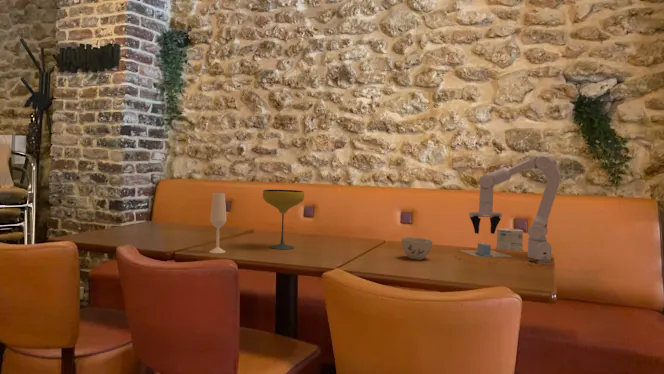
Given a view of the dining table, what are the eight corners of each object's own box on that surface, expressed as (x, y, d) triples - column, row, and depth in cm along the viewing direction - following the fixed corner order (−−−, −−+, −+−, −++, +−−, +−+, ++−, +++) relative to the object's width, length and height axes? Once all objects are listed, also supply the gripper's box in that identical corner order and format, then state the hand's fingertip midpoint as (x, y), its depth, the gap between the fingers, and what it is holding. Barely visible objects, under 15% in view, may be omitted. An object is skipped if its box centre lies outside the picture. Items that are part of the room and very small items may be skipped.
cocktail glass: (256, 245, 241) (257, 189, 240) (293, 243, 248) (295, 189, 247) (268, 251, 224) (270, 191, 223) (308, 250, 232) (310, 192, 231)
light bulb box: (519, 252, 248) (520, 228, 247) (522, 254, 241) (524, 230, 241) (495, 250, 249) (496, 227, 249) (498, 253, 242) (499, 229, 242)
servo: (492, 260, 222) (493, 244, 222) (485, 260, 221) (486, 244, 221) (481, 256, 231) (482, 241, 230) (474, 256, 230) (475, 241, 230)
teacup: (427, 262, 212) (427, 242, 211) (396, 259, 217) (397, 239, 217) (436, 257, 225) (437, 238, 225) (407, 254, 231) (408, 235, 230)
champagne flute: (227, 250, 222) (229, 193, 221) (223, 253, 216) (224, 193, 215) (212, 250, 223) (213, 192, 222) (206, 252, 216) (208, 193, 215)
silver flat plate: (513, 260, 224) (513, 256, 224) (477, 260, 220) (478, 256, 220) (491, 253, 240) (492, 250, 240) (459, 253, 237) (459, 250, 237)
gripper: (496, 202, 240) (494, 232, 241) (466, 201, 237) (465, 232, 237) (504, 203, 233) (503, 234, 234) (474, 202, 230) (472, 234, 231)
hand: (484, 233), depth 235 cm, fingers open, 7 cm apart
